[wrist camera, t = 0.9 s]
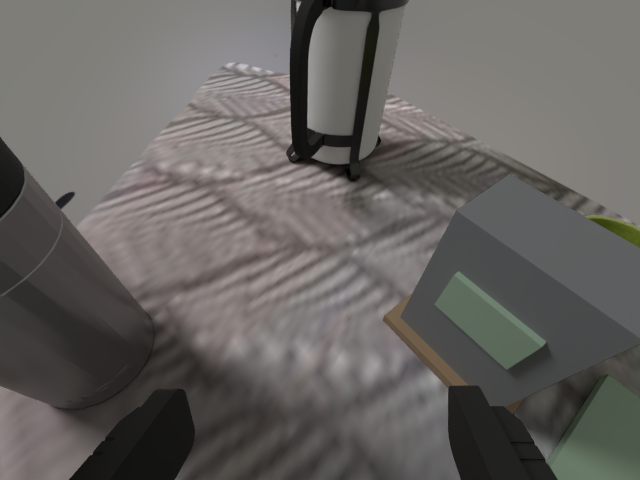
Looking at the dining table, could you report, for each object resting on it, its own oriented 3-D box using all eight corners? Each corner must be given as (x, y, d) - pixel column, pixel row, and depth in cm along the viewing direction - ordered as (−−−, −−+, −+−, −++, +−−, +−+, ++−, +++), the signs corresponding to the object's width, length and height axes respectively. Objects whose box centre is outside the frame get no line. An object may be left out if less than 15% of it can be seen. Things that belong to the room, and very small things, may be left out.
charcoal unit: (382, 319, 30) (432, 207, 19) (435, 277, 34) (504, 161, 22) (493, 434, 24) (663, 375, 13) (542, 369, 28) (713, 276, 16)
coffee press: (270, 131, 50) (242, -179, 27) (362, 121, 54) (407, -164, 31) (294, 204, 40) (283, -201, 17) (407, 185, 43) (527, -174, 20)
